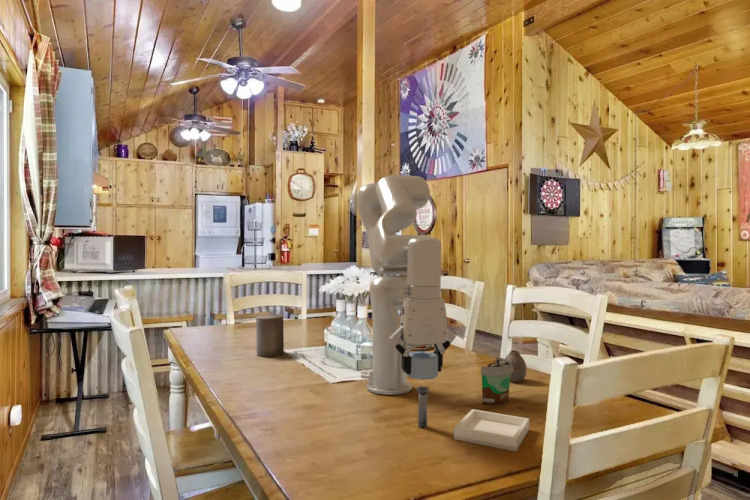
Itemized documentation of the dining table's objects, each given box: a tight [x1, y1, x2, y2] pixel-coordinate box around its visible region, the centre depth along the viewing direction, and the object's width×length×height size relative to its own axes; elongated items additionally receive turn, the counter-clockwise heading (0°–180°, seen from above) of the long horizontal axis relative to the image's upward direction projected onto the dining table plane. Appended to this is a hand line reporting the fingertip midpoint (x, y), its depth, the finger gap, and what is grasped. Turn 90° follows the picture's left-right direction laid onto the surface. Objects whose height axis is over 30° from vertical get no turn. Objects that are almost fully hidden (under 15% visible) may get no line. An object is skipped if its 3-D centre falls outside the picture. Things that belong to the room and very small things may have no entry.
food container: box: [480, 356, 513, 406], centre depth 134 cm, size 12×6×10 cm, turn 148°
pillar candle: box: [255, 313, 285, 358], centre depth 185 cm, size 10×10×15 cm
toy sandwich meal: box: [410, 345, 434, 352], centre depth 197 cm, size 12×14×5 cm
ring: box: [406, 351, 439, 381], centre depth 117 cm, size 7×8×4 cm
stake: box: [416, 385, 430, 429], centre depth 116 cm, size 3×3×9 cm
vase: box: [504, 350, 528, 383], centre depth 153 cm, size 7×7×9 cm
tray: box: [453, 408, 530, 452], centre depth 111 cm, size 13×13×2 cm
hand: (422, 370), depth 116 cm, fingers closed on ring, 6 cm apart
